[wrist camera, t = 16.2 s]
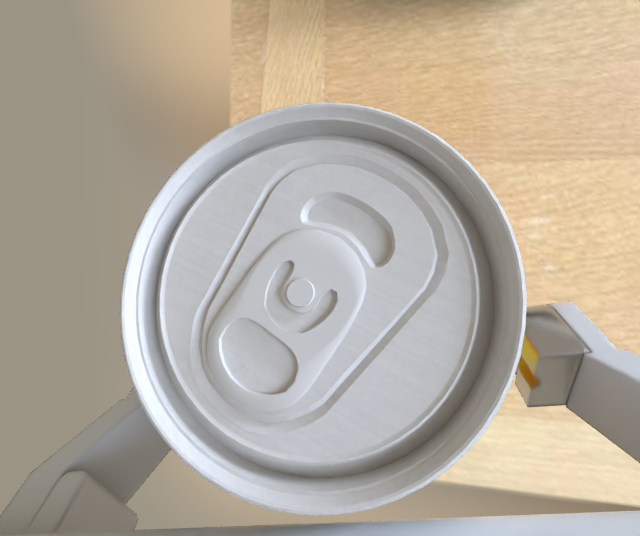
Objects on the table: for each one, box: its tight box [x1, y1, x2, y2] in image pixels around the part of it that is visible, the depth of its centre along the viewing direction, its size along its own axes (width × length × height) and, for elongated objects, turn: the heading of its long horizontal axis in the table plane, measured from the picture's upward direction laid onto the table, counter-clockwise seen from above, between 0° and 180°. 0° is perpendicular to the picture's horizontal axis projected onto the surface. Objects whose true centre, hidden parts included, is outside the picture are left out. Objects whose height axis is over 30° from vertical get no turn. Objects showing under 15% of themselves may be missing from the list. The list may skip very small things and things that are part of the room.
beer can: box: [120, 102, 527, 515], centre depth 12 cm, size 6×6×15 cm
